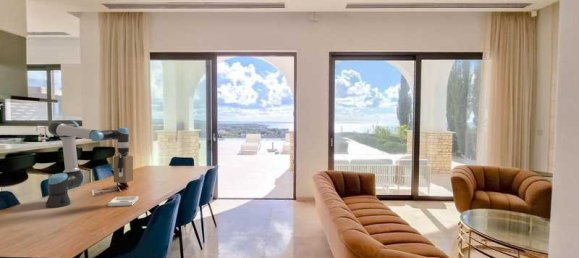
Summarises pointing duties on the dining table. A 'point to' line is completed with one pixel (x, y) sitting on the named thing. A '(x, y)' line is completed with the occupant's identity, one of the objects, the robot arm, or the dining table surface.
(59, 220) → the dining table surface
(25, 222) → the dining table surface
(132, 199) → the dish
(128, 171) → the wooden block
